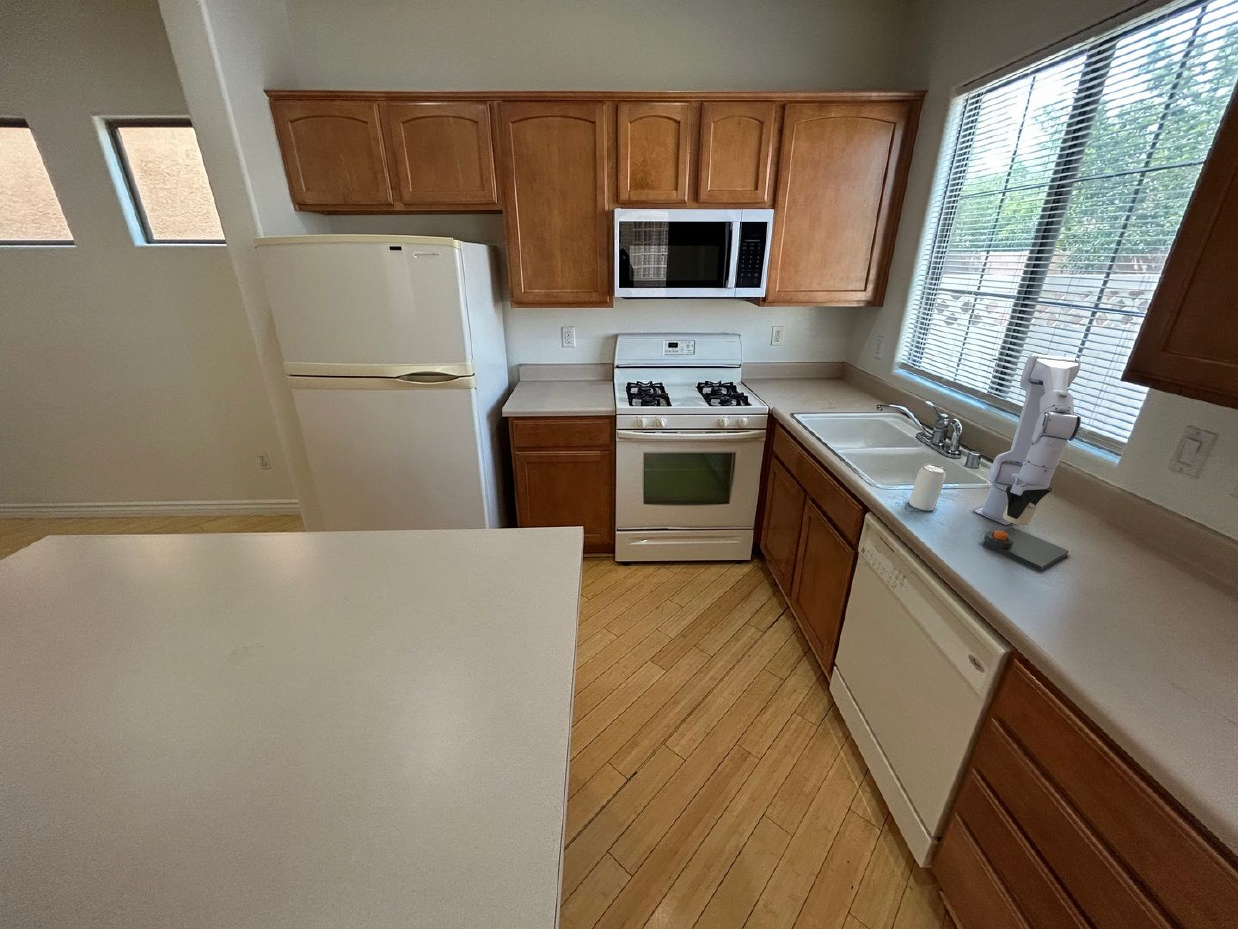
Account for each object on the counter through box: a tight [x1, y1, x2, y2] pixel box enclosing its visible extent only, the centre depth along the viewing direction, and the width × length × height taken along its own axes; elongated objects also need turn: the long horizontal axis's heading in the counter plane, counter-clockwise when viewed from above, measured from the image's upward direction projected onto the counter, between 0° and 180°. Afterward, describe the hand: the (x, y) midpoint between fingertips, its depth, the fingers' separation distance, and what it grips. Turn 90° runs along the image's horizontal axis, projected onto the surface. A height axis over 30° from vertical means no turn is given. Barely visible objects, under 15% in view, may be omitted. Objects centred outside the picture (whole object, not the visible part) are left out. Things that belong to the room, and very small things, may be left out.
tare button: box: [993, 529, 1008, 541], centre depth 116 cm, size 3×3×2 cm
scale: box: [982, 526, 1069, 572], centre depth 116 cm, size 15×13×3 cm
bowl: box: [1003, 503, 1037, 526], centre depth 114 cm, size 5×5×4 cm
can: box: [908, 463, 947, 512], centre depth 133 cm, size 6×6×12 cm
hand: (1018, 514), depth 115 cm, fingers closed on bowl, 5 cm apart
